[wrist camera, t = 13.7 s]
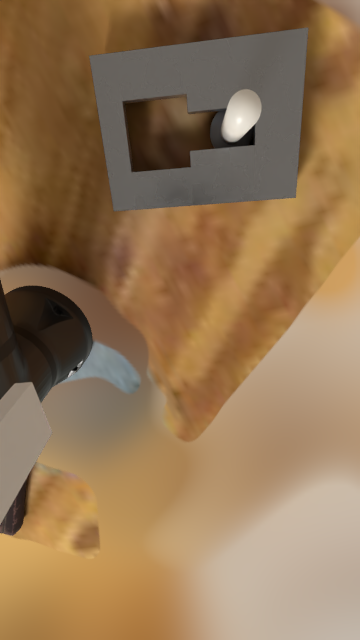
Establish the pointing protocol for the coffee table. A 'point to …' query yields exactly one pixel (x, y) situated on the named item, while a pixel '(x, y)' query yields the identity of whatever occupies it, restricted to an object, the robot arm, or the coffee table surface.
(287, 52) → the keyhole plate
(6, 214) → the coffee table surface
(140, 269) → the coffee table surface
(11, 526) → the diary
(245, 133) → the peg
